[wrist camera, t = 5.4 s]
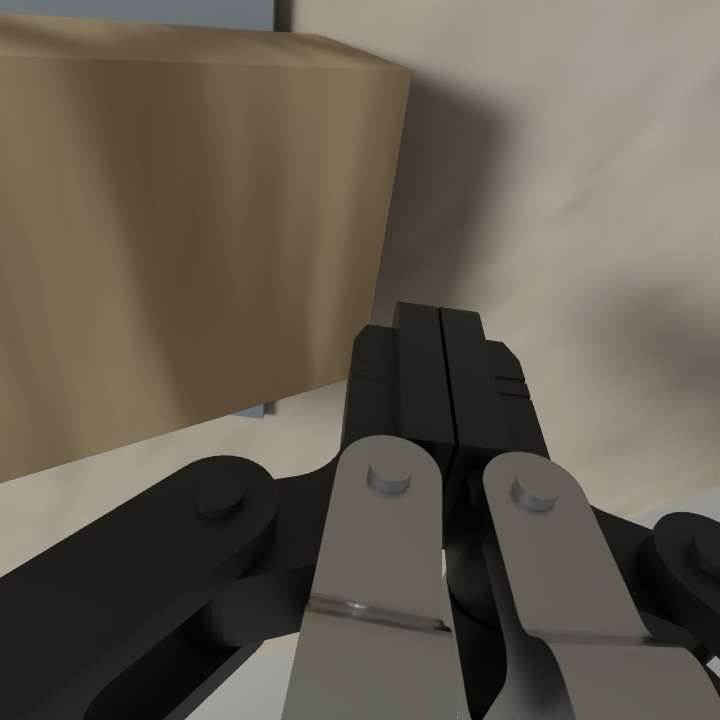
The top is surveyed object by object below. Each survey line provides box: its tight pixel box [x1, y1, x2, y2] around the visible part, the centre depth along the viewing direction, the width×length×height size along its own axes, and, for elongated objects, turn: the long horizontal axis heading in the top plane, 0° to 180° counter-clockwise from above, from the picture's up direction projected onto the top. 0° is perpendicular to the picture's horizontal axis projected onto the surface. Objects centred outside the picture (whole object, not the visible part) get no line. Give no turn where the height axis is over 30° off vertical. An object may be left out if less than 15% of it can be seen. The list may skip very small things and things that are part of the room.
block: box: [0, 12, 413, 483], centre depth 11 cm, size 4×8×13 cm
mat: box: [0, 0, 277, 419], centre depth 16 cm, size 14×18×1 cm
